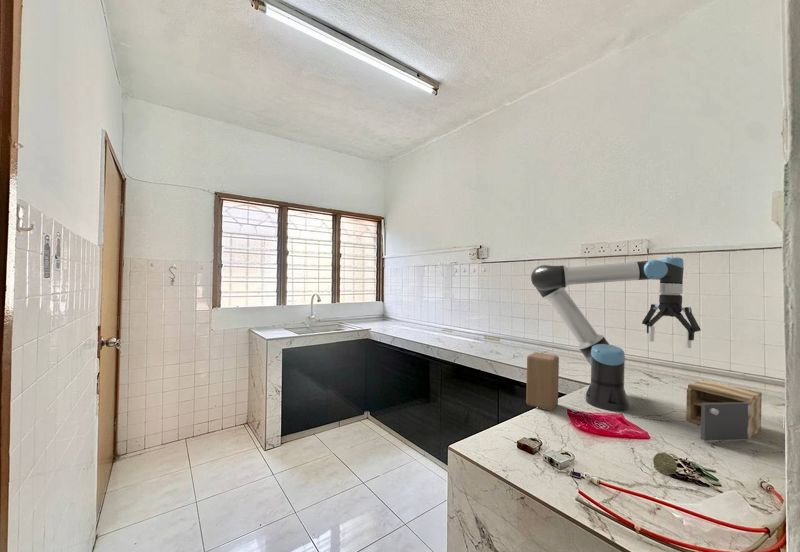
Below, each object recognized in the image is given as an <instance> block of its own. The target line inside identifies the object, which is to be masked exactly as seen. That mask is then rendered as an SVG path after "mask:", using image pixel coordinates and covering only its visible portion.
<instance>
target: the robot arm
mask: <svg viewBox="0 0 800 552" xmlns="http://www.w3.org/2000/svg"><path fill="white" fill-rule="evenodd" d="M684 265H685V263H684V259H683V258H682V257H675V256H674V257H671V256H670V257H661V258H660V260H659V259H650V260H640V261H628V262H617V263H616V262H615V263H614V262H613V263H605V264H604V263H603V264H593V265H591V264H590V265H581V266H568V267H567V266H566V265H564V264H563V265H551V264H550V265H549V264H543V265H542V264H541V265H538V266H537V267H536V268H534V269H533V270H532V272H531V275H530V280H531V284H532V285H533V286H534V287H535V289H536V290H537V292H538V293H539V294H540V296H541V297H542V298H543V299H547V300H548V301H549V302H550V303H549V304H551V305H552V307H553V308H554V310H555V311H556V313H557V314H558V315H559V317H560V318H561V319H562V321H563V322H564V324H565V325H566V327H567V328H568V330H569V331H570V332H571V333H572V335H573V337H574V338H575V339H576V340H577V342H578V343H579V345H578V350H579V351H580V352H581V353H582V355H583V356H584V357H585V359H586V361H587V362H588V363H589V366H590V382H589V383H590V384H589V386H588V388H587V390H586V393H585V401H586V403H587V404H590V405H591V406H593V407H596V408H599V409H603V410H608V411H615V412H617V411H619V412H620V411H621V412H622V411H628V410H629V408H630V407H629V406H630V402H629V399H628V395H627V393H626V390H625V361H626V356H625V351H624V350H623V349H622V348H621V347H619V346H616V345H613V344H610V343H609V342H608V340H607V338H605V337H604V335H603V334H598V333H597V332H596V330H595V329H594V327H593V326H592V324H591V323H590V322H589V320H588V319H587V318H586V317H585V315H584V314H583V312H582V311H581V310H580V308H579V307H578V305H577V304H576V303H575V301H574V300H573V298H572V297H571V296H570V295H569V293H568V292H567V291H566V288H567V287H568V286H571V285H585V284H586V285H587V284H603V283H615V282H616V283H617V282H629V281H630V282H631V281H632V282H633V281H642V280H643V281H645V280H653V281H654V280H657V281H659V293H660V294H659V296H658V303H659V304H656V303H651V304H650V308H649V310H648V312H647V313H646V315H645V317H644V318H643V320H642V321H641V324H642V325H645V326H646V333H647V334H648V339H647V340H648V341H647V342H655V326H654V325H655V324H656V323H657V322H658V321H659V320H660V319H661V318H663V317H673V318H675V319H677V320H678V322H680V323H681V325H682V326H683V327H684V328H685V329H686V330H687V331H685V336H684V337H685V341H684V343H685V344H684V349H691V348H692V341H694V340H695V333H697V332H700V331H702V330H701V327H700V326H699V324H698V321H697V320H696V318H695V316H694V314H693V310H692V308H691V307H690V306H686V307H683V296H682V294H683V289H684V288H683V286H684V284H683V283H684V269H685V268H684V267H685V266H684ZM657 310H659V311H658V312H656V311H657ZM682 312H683V313H684V314H685V316H686V318H685V317H684V315H683V313H682ZM655 313H656V315H655ZM653 316H654V317H653Z"/></svg>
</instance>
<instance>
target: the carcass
mask: <svg viewBox="0 0 800 552" xmlns="http://www.w3.org/2000/svg"><path fill="white" fill-rule="evenodd" d="M762 395H763V393H762V392H760V391H755V390H751V389H746V388H742V387H738V386H733V385H729V384H728V385H727V384H723V383H718V382H714V381H709V380H705V379H700V380H697V381H695V382H692V383H689V384H687V388H686V408H685V409H686V413H685V414H686V416H685V419H686V420H685V421H686V422H689V423H693V424H697V425H700V426H701V403H728V402H745V403H748V404H749V405H750V416H748V426H749V427H750V437H748V439H747V440H749V439H751V438H752V437H754V436H755V435H757V433H759V432H761V431H762V401H763V399H762Z"/></svg>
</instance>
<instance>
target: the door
mask: <svg viewBox="0 0 800 552" xmlns="http://www.w3.org/2000/svg"><path fill="white" fill-rule="evenodd" d="M748 416H750V405H749V404H748V403H745V402H728V403H701V425H700V440H702V441H705V442H707V441H709V442H710V441H711V442H712V441H713V442H715V441H737V440H738V441H744V440H749V439H748V437H750V427H749V426H748Z"/></svg>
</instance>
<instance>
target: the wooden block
mask: <svg viewBox="0 0 800 552" xmlns="http://www.w3.org/2000/svg"><path fill="white" fill-rule="evenodd" d="M559 363H560V358H559V356H558V355H556V354H551V353H544V352H537V351H535V352H533V353H530V354H529V355H527V357H526V388H525V389H526V390H525V391H526V392H525V394H526V397H525V398H526V399H525V403H526V404H527V405H528V406H530V407H535V408H539V407H541V408H539V409H543V410H545V411H552V410H553V409H554V408H555V407H556V406H558V404H559V371H560V368H559V367H560V365H559Z"/></svg>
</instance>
